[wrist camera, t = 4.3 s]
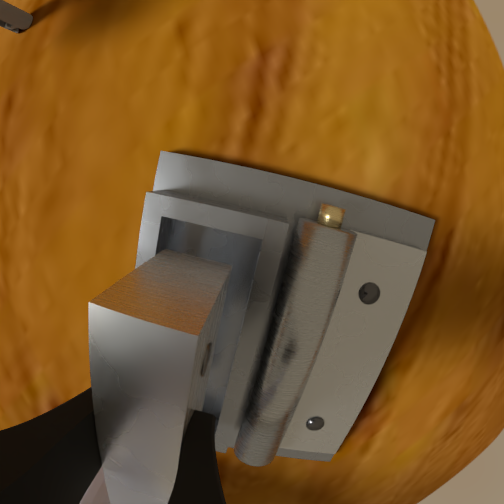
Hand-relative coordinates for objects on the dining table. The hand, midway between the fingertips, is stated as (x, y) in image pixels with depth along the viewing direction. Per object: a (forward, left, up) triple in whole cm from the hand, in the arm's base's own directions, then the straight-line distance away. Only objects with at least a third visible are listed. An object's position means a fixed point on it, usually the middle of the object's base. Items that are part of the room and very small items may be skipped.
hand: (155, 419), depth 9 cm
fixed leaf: (0, -3, -7) cm, 8 cm away
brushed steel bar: (0, 0, -3) cm, 3 cm away
